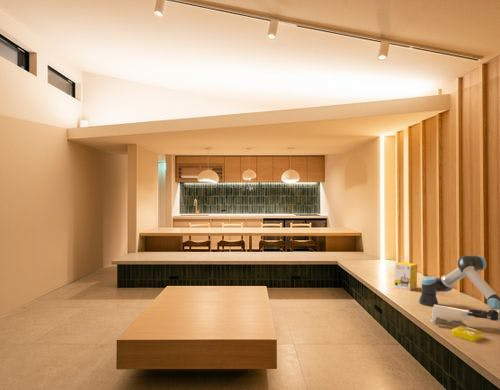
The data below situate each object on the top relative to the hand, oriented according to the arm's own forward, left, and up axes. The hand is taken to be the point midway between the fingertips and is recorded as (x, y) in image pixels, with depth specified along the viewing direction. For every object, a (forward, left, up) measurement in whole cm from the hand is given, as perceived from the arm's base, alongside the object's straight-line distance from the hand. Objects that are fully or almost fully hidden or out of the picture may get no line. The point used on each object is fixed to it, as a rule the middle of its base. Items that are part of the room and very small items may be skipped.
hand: (461, 312), depth 264 cm
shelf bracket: (+1, -7, -7) cm, 10 cm away
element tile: (+23, -4, -10) cm, 25 cm away
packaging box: (-110, -15, -10) cm, 111 cm away
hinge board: (0, -8, -9) cm, 12 cm away
